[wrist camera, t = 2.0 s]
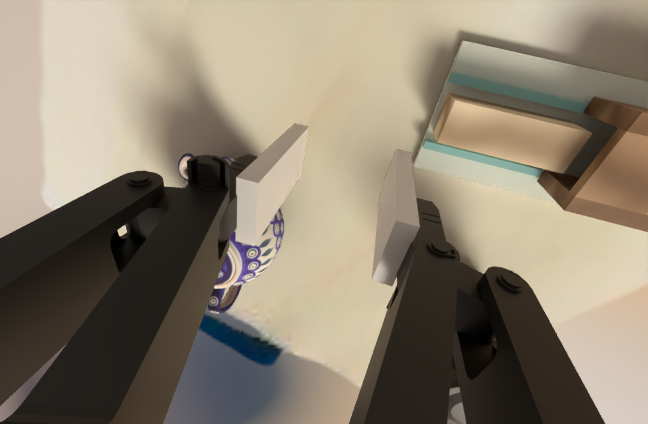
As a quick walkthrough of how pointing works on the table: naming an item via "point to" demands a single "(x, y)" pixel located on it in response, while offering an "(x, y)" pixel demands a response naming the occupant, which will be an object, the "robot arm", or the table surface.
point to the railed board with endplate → (530, 95)
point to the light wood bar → (509, 133)
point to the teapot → (241, 256)
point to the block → (610, 171)
